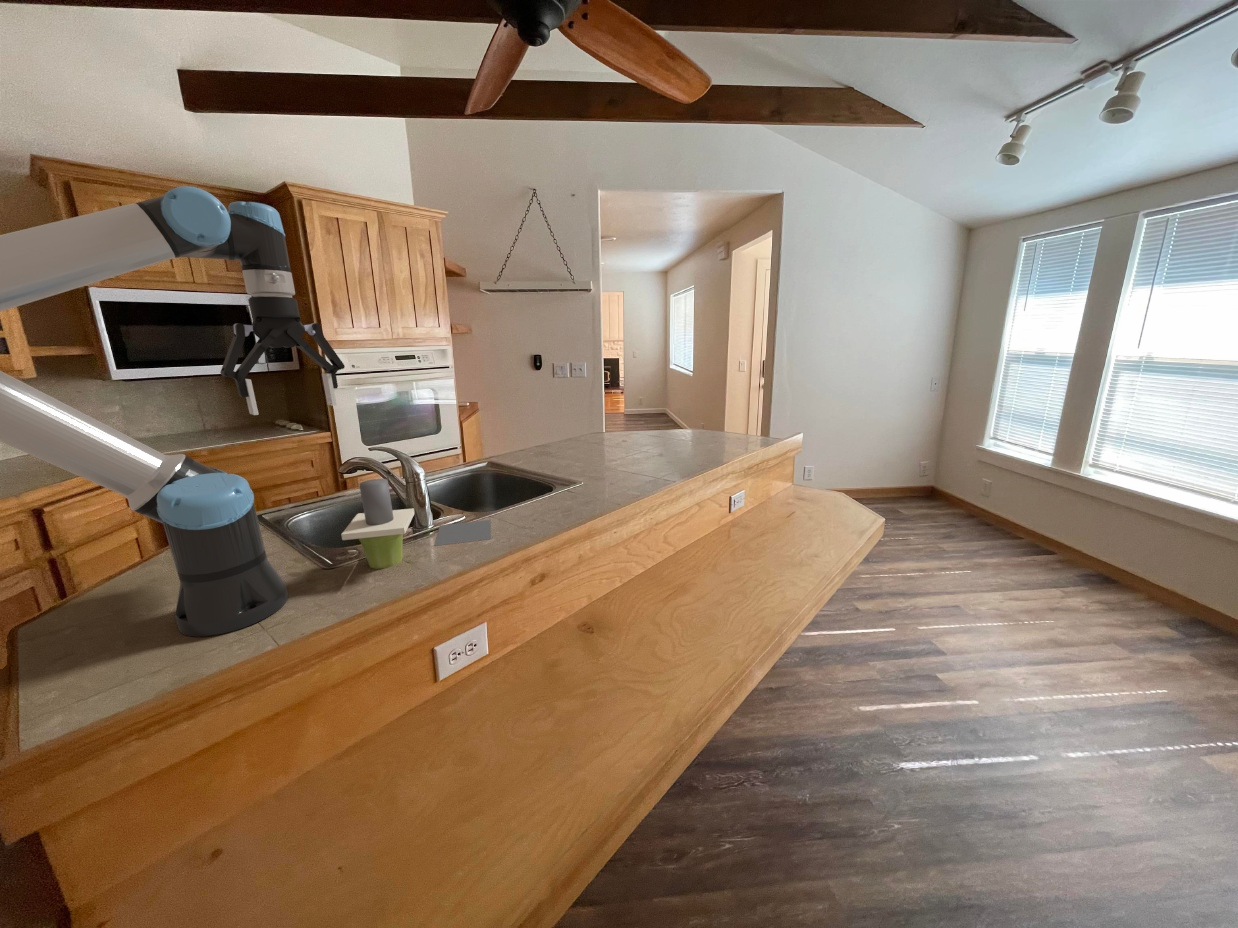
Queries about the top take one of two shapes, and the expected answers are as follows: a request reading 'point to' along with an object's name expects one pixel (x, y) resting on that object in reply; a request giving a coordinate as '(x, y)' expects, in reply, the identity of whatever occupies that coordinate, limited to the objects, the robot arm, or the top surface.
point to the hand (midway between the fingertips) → (295, 409)
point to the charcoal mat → (463, 532)
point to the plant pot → (383, 550)
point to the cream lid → (377, 513)
